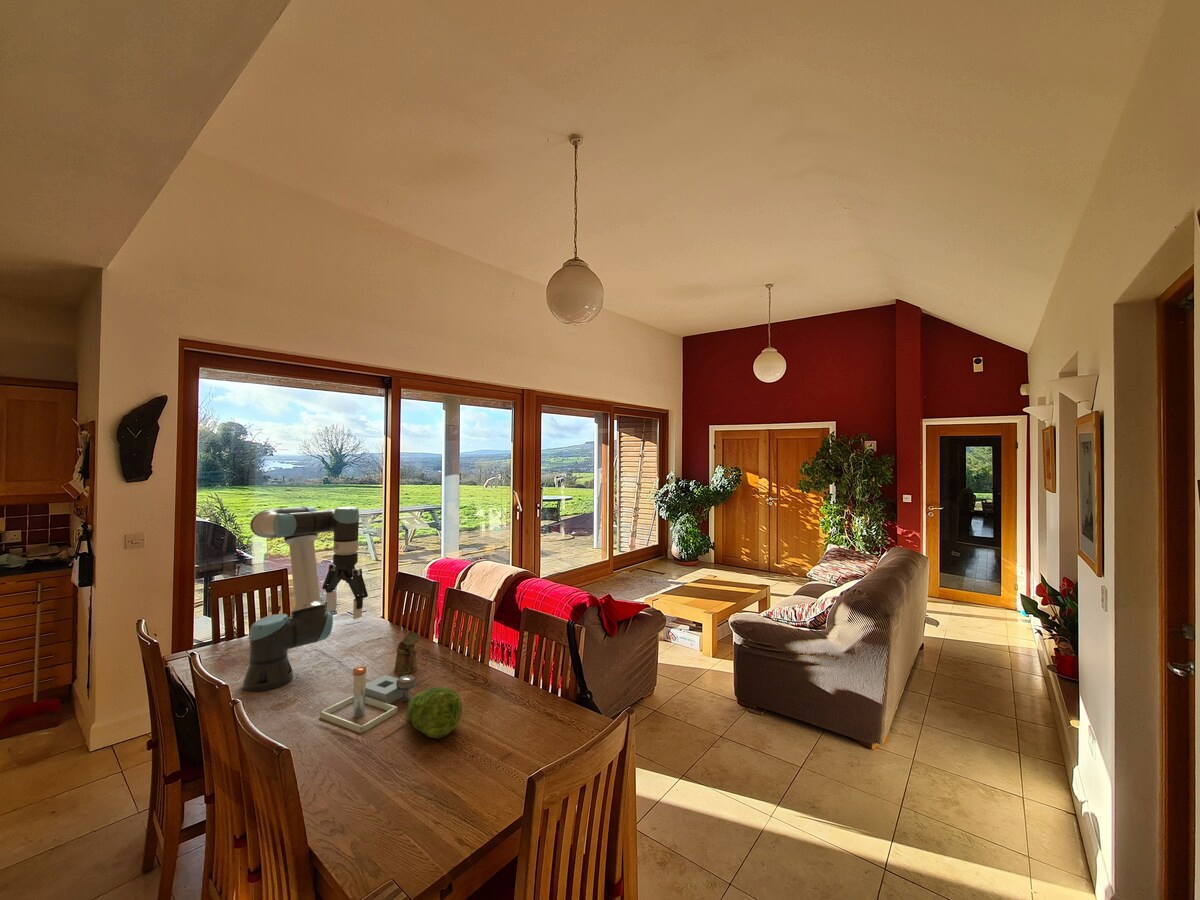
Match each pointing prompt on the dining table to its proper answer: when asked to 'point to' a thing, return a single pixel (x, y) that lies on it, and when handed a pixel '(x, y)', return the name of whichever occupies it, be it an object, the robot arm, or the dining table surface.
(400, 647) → the wooden mug
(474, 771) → the dining table surface
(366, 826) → the dining table surface
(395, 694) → the block
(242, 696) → the dining table surface
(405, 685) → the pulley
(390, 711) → the tray
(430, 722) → the lettuce
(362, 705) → the pin
